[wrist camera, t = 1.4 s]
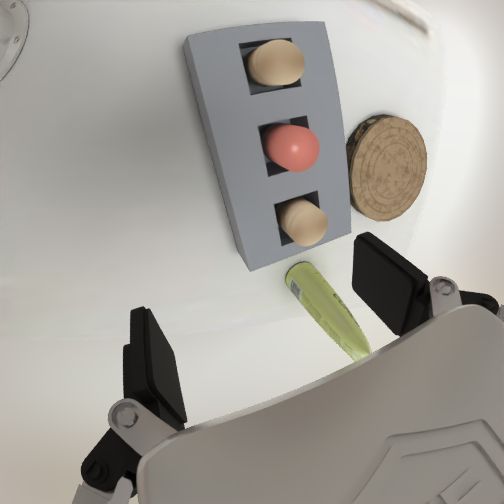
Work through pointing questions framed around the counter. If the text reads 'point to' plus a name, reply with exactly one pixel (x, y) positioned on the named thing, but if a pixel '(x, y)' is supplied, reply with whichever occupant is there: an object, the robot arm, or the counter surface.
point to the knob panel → (254, 125)
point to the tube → (327, 309)
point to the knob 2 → (301, 220)
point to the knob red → (290, 146)
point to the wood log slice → (385, 166)
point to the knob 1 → (274, 64)
